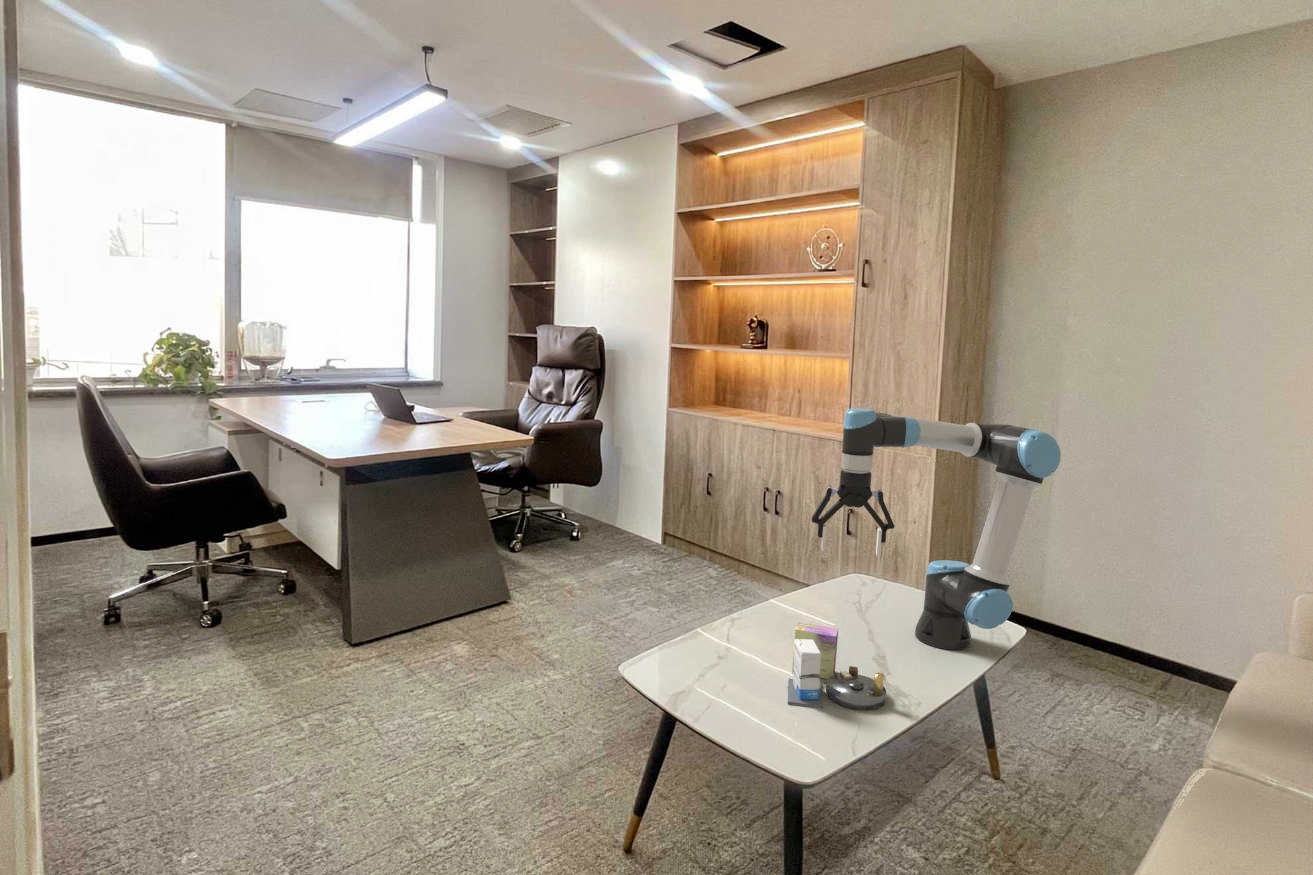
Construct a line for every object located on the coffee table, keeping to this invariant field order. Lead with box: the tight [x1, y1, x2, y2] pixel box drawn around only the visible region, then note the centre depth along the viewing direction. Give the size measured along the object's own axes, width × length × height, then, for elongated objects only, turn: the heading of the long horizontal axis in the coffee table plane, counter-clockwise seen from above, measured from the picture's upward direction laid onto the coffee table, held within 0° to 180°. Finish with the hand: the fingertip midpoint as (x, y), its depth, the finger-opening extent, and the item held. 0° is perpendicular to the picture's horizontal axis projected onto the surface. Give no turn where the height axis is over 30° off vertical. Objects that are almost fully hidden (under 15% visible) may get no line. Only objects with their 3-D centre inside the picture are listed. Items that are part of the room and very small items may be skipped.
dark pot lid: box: [825, 670, 887, 710], centre depth 178 cm, size 14×14×7 cm
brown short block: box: [848, 665, 859, 675], centre depth 186 cm, size 2×2×3 cm
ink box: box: [792, 638, 821, 700], centre depth 177 cm, size 9×5×12 cm, turn 1°
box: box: [791, 621, 839, 680], centre depth 189 cm, size 10×6×12 cm, turn 71°
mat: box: [787, 678, 824, 709], centre depth 178 cm, size 8×12×1 cm, turn 169°
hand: (850, 552), depth 188 cm, fingers open, 13 cm apart
